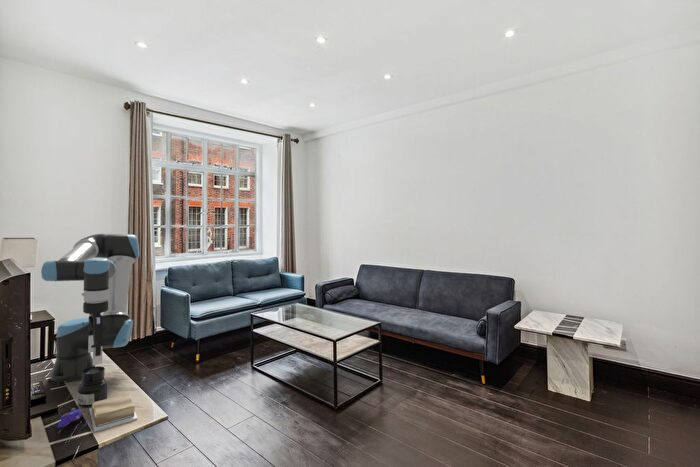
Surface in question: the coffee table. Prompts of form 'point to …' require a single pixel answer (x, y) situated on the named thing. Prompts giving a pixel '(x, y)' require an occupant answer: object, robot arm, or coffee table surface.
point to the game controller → (70, 418)
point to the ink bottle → (92, 386)
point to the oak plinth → (112, 409)
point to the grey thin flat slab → (112, 423)
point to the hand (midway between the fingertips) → (94, 357)
